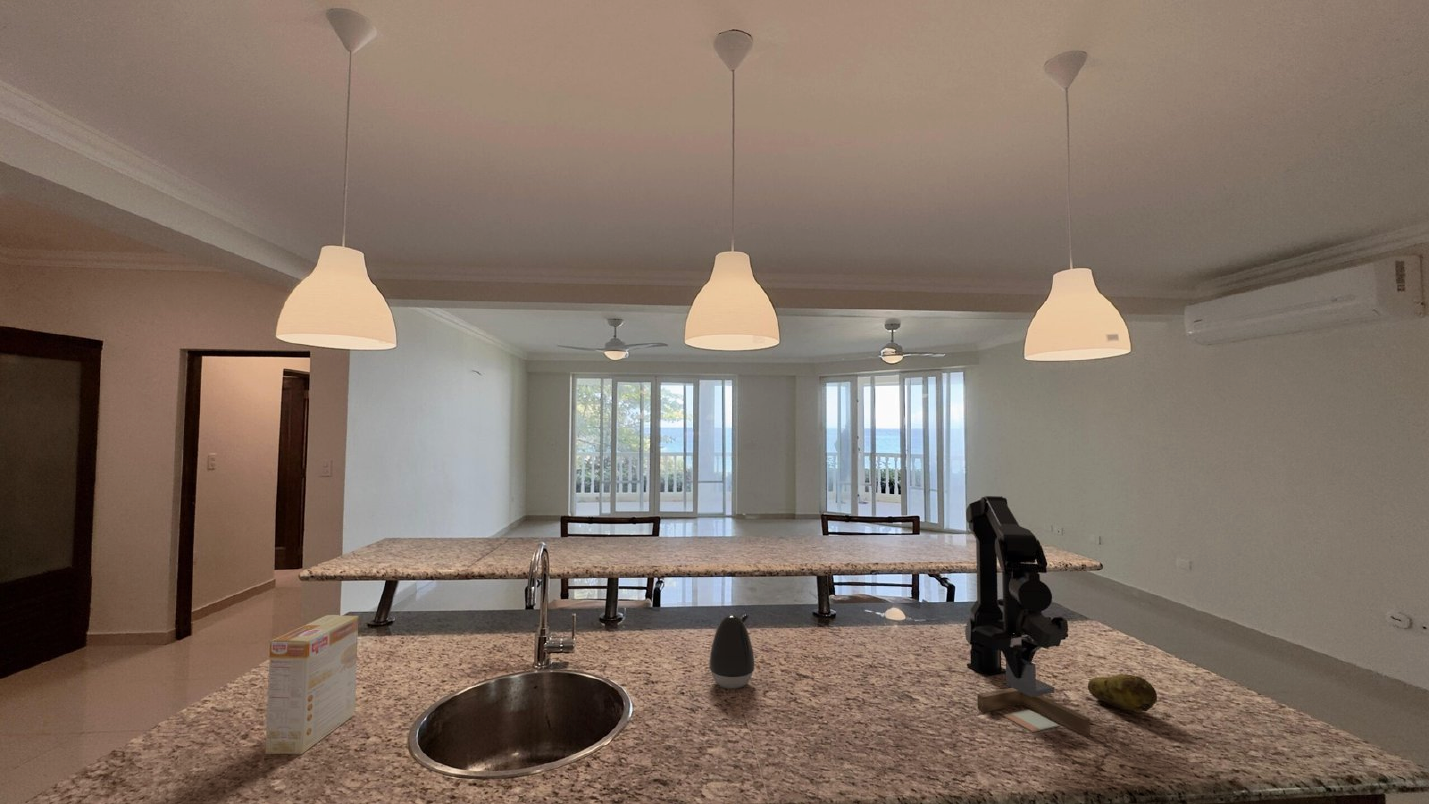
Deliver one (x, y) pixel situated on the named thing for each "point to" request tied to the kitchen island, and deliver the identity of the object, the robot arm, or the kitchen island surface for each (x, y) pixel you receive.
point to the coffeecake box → (311, 683)
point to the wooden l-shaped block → (1034, 708)
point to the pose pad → (1030, 720)
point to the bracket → (1027, 680)
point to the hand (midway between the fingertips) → (1020, 677)
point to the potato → (1124, 692)
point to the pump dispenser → (732, 653)
